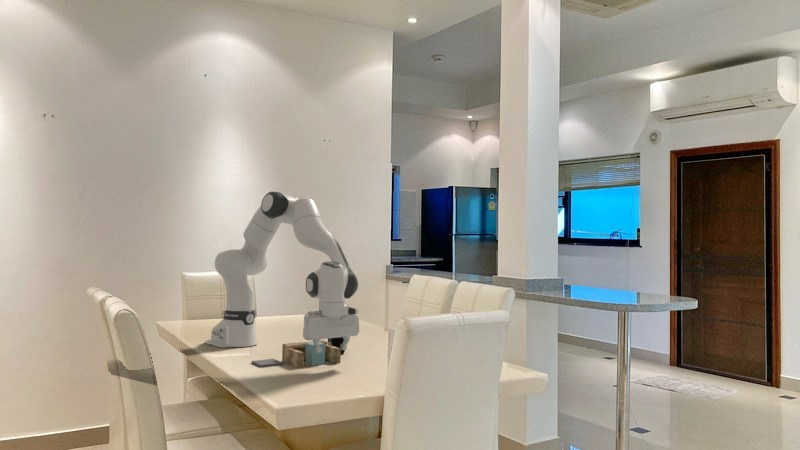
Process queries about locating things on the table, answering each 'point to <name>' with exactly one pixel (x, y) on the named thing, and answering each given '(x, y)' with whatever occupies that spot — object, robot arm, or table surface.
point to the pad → (267, 362)
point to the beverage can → (336, 342)
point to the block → (314, 354)
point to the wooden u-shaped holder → (296, 353)
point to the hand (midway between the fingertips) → (331, 351)
